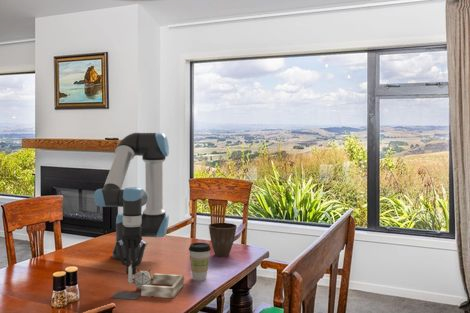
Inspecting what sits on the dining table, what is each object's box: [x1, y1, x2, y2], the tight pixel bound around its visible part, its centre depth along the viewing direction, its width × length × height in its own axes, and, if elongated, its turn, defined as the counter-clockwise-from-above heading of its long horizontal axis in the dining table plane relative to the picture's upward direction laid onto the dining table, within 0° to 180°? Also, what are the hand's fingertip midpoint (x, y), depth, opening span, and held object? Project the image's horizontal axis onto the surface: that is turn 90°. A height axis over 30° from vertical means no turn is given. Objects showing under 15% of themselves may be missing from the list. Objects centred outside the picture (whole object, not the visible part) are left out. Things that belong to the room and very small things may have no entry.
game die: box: [132, 268, 154, 291], centre depth 171 cm, size 9×8×10 cm
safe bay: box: [140, 272, 185, 299], centre depth 171 cm, size 13×15×4 cm
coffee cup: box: [188, 242, 212, 281], centre depth 187 cm, size 10×10×15 cm
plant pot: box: [208, 222, 238, 258], centre depth 225 cm, size 15×15×16 cm
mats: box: [110, 276, 153, 301], centre depth 173 cm, size 10×24×1 cm, turn 173°
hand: (131, 281), depth 173 cm, fingers closed
